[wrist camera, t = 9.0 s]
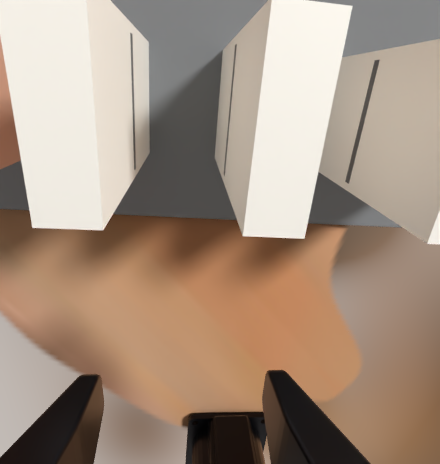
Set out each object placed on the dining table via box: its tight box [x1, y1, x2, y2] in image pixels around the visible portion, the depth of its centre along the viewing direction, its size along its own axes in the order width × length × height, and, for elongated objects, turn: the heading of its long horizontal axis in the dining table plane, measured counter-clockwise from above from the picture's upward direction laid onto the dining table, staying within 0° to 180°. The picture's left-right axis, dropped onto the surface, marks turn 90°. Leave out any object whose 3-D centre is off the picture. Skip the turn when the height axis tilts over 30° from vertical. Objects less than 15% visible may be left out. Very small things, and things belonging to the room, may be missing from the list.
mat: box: [0, 0, 440, 228], centre depth 17 cm, size 12×26×1 cm, turn 85°
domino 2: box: [215, 0, 353, 239], centre depth 12 cm, size 5×2×10 cm, turn 175°
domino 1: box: [0, 0, 150, 230], centre depth 11 cm, size 5×2×10 cm, turn 175°
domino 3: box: [318, 39, 440, 244], centre depth 12 cm, size 5×2×10 cm, turn 175°
